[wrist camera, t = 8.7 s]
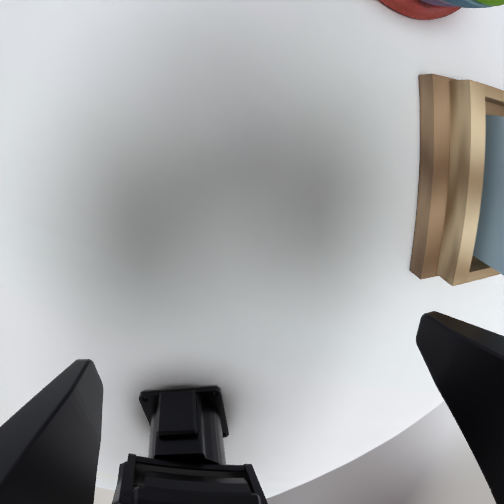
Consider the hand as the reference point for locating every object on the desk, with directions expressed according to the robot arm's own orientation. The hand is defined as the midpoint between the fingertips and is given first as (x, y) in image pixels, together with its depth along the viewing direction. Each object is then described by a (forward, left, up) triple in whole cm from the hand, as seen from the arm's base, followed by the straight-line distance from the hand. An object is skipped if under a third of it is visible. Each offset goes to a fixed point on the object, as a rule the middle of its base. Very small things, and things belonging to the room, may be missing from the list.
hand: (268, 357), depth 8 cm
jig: (+2, -19, -12) cm, 22 cm away
